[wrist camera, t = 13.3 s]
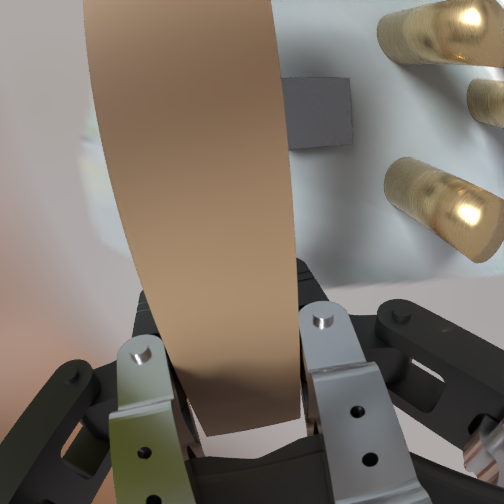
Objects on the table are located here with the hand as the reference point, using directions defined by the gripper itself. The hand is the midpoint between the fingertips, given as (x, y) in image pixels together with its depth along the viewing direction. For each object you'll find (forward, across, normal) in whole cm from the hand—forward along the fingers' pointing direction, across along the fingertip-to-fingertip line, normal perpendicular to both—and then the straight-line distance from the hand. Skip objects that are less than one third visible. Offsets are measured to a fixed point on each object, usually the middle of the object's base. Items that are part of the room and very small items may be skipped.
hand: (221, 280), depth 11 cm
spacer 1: (+9, -14, -10) cm, 20 cm away
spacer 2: (+10, -14, +1) cm, 17 cm away
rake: (+1, 0, -6) cm, 6 cm away
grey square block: (+10, -7, -5) cm, 13 cm away
